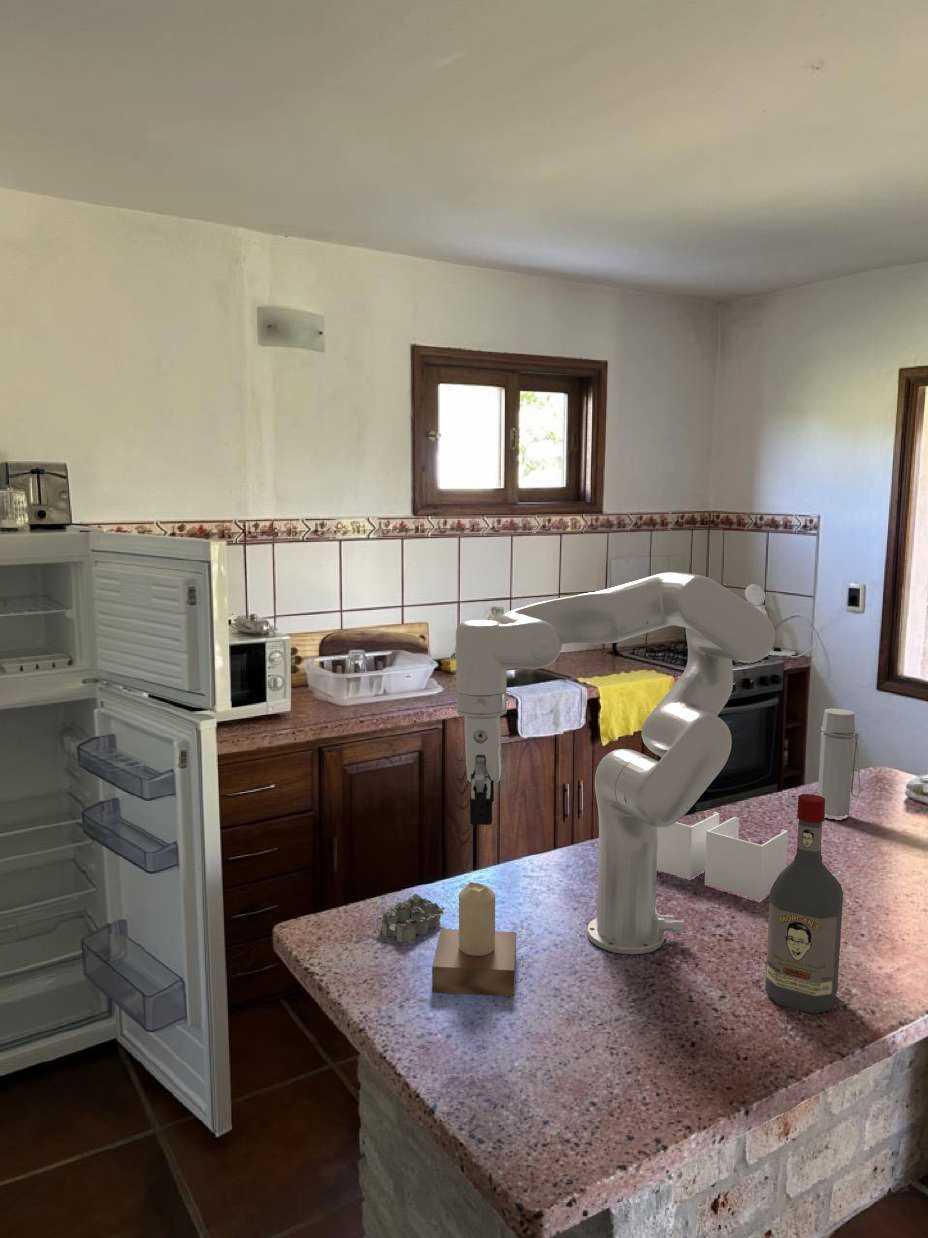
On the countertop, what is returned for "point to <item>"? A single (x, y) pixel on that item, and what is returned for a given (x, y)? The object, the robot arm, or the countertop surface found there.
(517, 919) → the countertop surface
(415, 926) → the egg carton
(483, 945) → the candle
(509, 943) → the plinth
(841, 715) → the water bottle
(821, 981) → the liquor
